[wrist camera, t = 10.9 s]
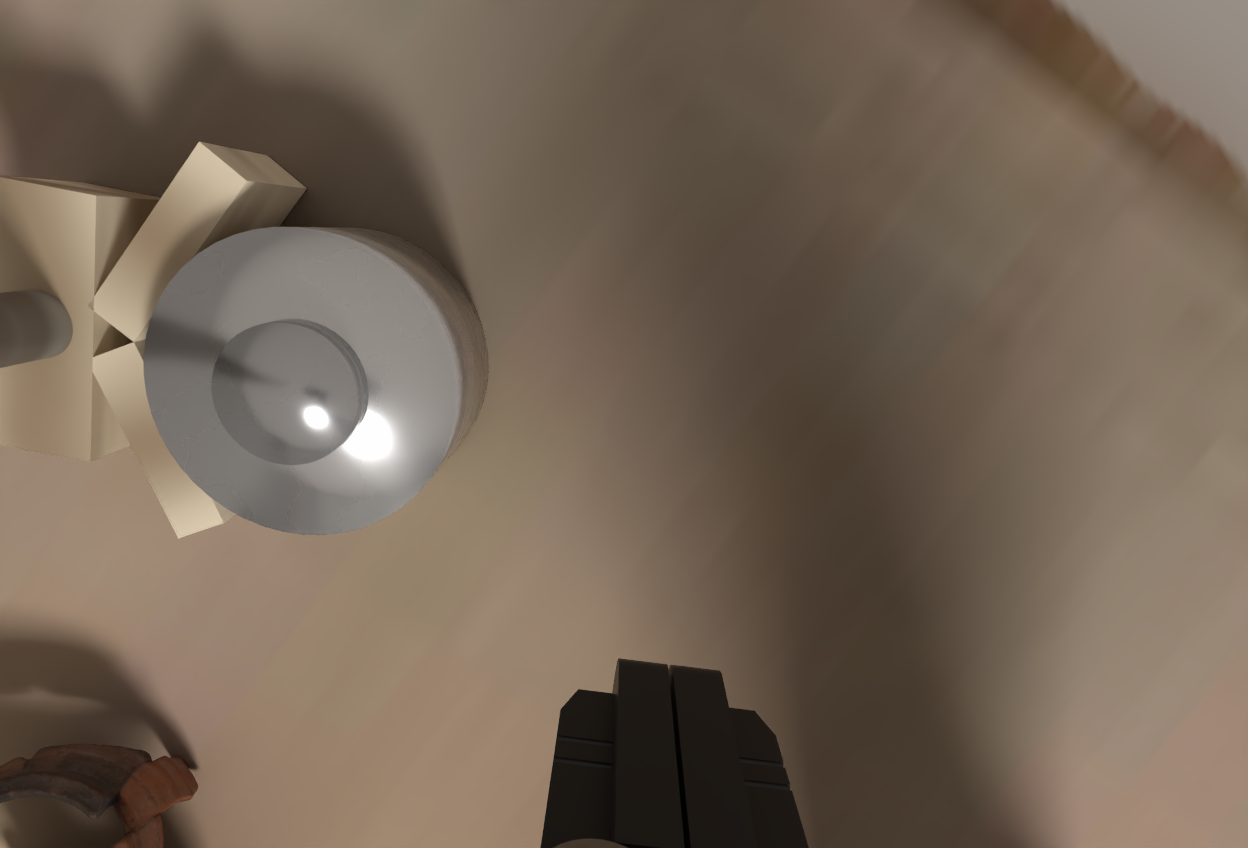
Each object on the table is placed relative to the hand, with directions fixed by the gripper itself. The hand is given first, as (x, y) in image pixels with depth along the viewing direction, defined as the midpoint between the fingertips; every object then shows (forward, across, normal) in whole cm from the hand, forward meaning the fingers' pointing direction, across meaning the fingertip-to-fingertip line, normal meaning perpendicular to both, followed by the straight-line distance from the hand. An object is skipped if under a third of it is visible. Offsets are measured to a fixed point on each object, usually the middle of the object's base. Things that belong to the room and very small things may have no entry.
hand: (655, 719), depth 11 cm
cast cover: (+17, +10, -1) cm, 20 cm away
